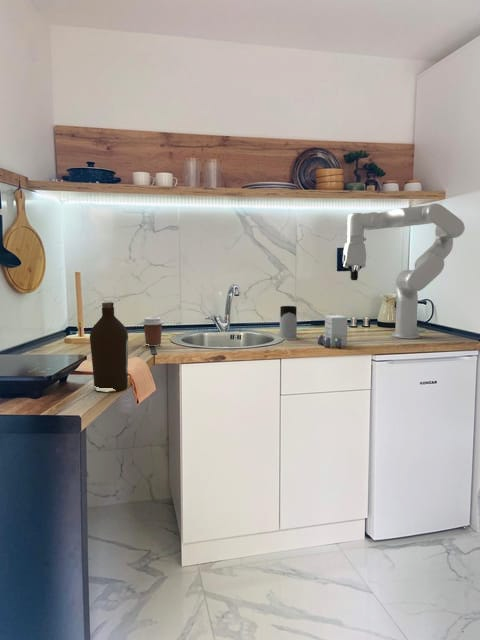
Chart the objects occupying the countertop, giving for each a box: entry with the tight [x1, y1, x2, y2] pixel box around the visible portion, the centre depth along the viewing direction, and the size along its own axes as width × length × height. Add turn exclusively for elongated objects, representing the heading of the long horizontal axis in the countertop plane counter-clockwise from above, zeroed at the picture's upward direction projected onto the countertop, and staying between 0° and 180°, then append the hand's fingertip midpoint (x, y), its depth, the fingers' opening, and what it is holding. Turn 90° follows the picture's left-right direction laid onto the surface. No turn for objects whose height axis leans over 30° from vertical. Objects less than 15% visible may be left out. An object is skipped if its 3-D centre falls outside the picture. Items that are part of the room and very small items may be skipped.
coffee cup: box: [141, 316, 164, 347], centre depth 202 cm, size 9×9×12 cm
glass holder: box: [279, 305, 298, 341], centre depth 221 cm, size 9×14×15 cm, turn 179°
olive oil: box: [89, 301, 129, 393], centre depth 134 cm, size 11×11×25 cm
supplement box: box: [324, 314, 348, 348], centre depth 201 cm, size 7×7×13 cm
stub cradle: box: [317, 333, 342, 350], centre depth 201 cm, size 6×15×4 cm, turn 13°
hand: (354, 280), depth 218 cm, fingers closed
